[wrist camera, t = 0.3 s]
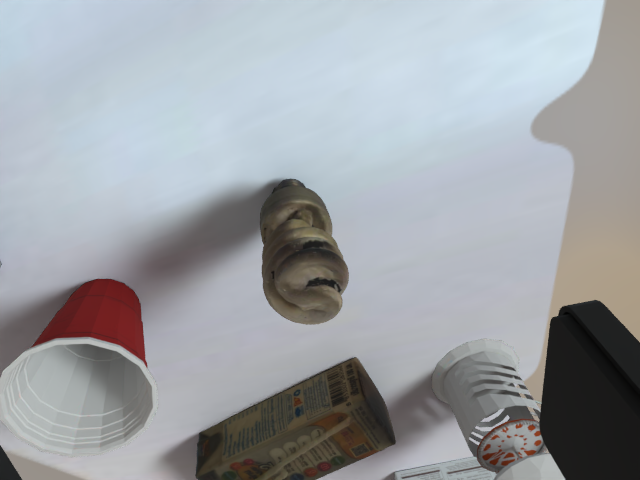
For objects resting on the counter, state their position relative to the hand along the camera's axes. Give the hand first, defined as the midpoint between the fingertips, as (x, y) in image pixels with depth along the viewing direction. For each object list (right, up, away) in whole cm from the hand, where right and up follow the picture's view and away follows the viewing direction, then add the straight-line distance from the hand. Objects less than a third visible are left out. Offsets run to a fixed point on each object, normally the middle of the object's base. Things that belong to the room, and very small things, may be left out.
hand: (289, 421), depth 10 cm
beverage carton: (-3, -15, +51) cm, 54 cm away
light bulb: (-2, +7, +38) cm, 38 cm away
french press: (+18, -11, +52) cm, 56 cm away
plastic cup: (-18, -2, +41) cm, 45 cm away
